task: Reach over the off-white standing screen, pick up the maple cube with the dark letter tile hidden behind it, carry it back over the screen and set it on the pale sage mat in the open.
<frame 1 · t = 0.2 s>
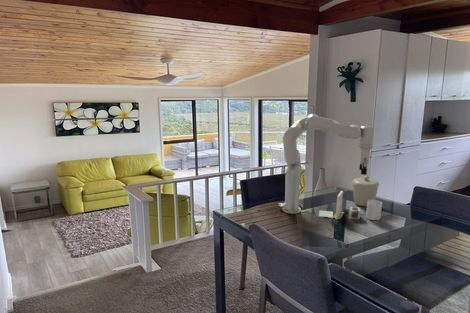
hand: (362, 172, 212), 31 cm above the table, fingers open, 9 cm apart
canister: (363, 204, 241), on the table
letter cube: (354, 217, 220), on the table
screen: (338, 216, 221), on the table
mat: (325, 214, 223), on the table
mug: (373, 217, 219), on the table
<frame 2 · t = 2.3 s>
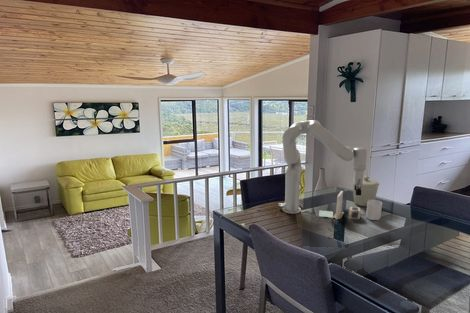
hand: (357, 192, 215), 17 cm above the table, fingers open, 9 cm apart
nothing on the table moved.
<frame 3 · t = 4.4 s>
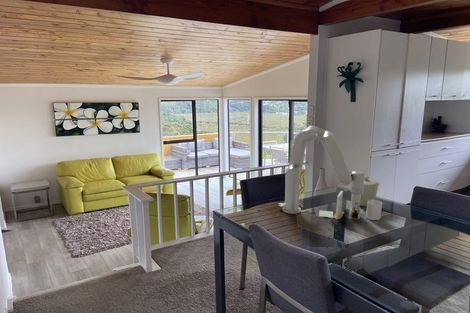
hand: (354, 215, 219), 1 cm above the table, fingers closed on letter cube, 6 cm apart
letter cube: (354, 217, 220), on the table, touching gripper
everything else where it was.
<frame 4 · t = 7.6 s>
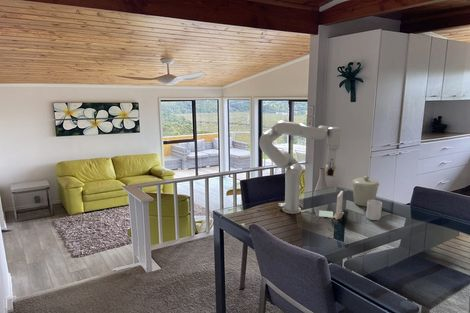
hand: (330, 173, 215), 29 cm above the table, fingers closed on letter cube, 6 cm apart
letter cube: (330, 174, 216), point 28 cm above the table, touching gripper
everything else where it was.
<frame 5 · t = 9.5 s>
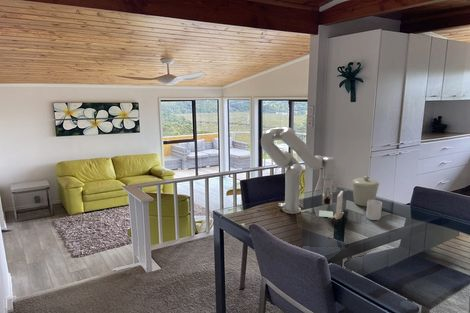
hand: (326, 201, 221), 9 cm above the table, fingers closed on letter cube, 6 cm apart
letter cube: (326, 203, 221), point 8 cm above the table, touching gripper
everything else where it was.
when the fingers open (3 cm above the table, at t = 11.1 s): letter cube stays where it is, resting on mat.
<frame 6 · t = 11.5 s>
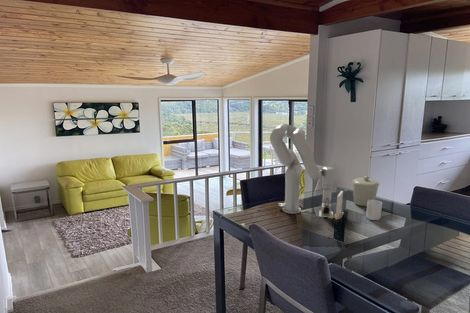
hand: (326, 210, 222), 3 cm above the table, fingers open, 9 cm apart
letter cube: (325, 213, 223), point 1 cm above the table, touching mat
everything else where it was.
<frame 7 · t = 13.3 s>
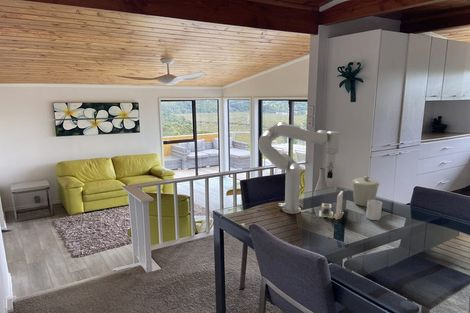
hand: (329, 175, 219), 26 cm above the table, fingers open, 9 cm apart
nothing on the table moved.
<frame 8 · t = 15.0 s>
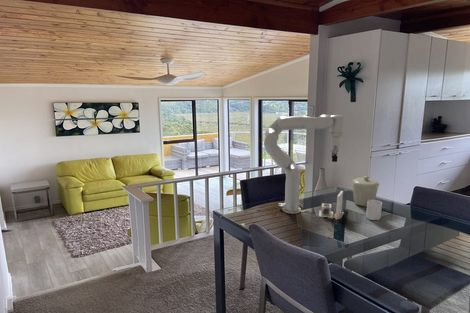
hand: (334, 159, 220), 36 cm above the table, fingers open, 9 cm apart
nothing on the table moved.
at the end: letter cube inside the target area on the mat (0.0 cm from its centre), point 0.8 cm above the mat's base; letter cube tilted 0°; the gripper is holding nothing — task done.
